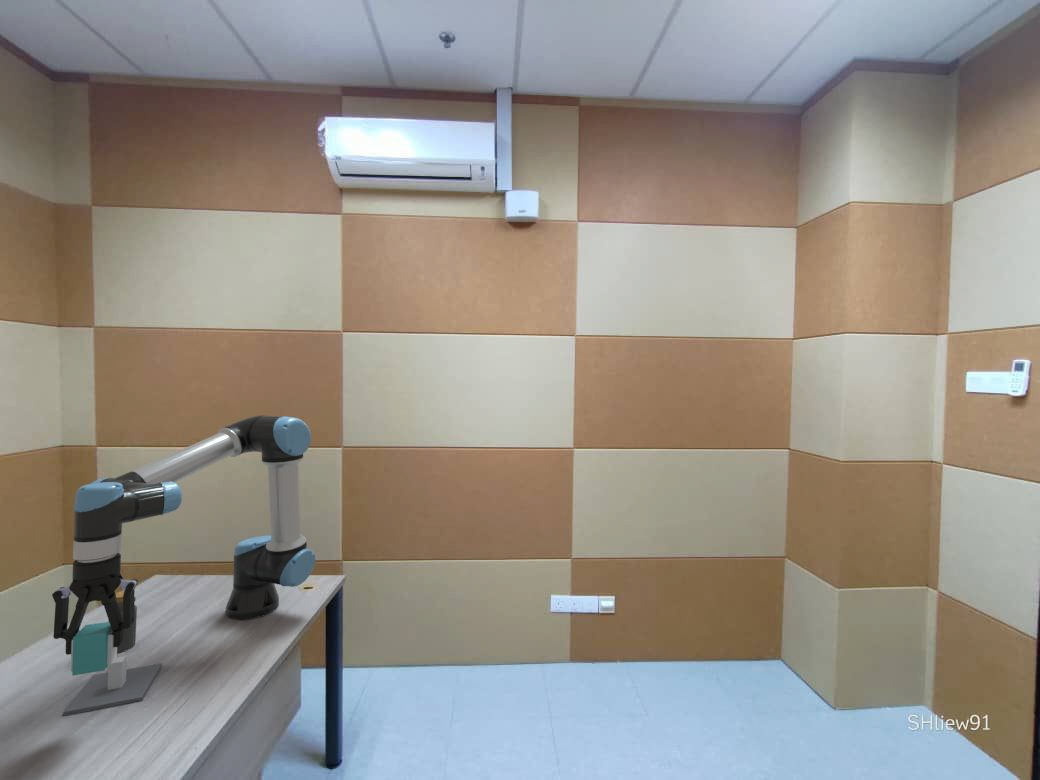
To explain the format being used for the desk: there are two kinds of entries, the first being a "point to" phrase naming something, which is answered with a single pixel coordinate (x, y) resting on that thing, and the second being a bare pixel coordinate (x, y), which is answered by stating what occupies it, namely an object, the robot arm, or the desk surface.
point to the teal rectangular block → (90, 648)
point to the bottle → (129, 633)
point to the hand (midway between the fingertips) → (94, 664)
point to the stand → (114, 687)
